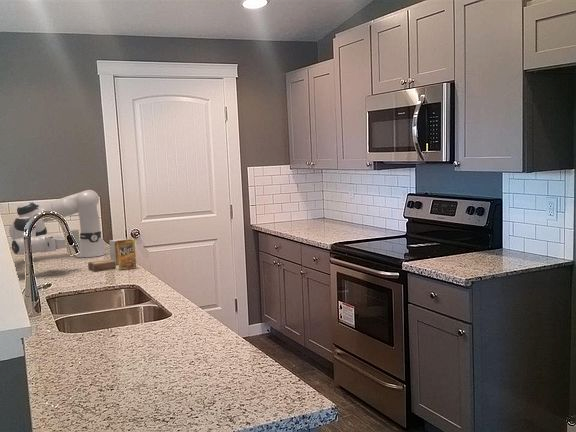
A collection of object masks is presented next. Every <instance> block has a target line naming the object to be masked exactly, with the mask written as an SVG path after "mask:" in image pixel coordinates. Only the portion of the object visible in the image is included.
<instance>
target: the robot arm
mask: <svg viewBox="0 0 576 432" xmlns="http://www.w3.org/2000/svg"><path fill="white" fill-rule="evenodd" d="M99 201H100V196H99V195H98V193H97V192H96V191H94V190H93V189H86V190H82V191H80V192H78V193H73V194H71V195H67V196H64V197H62V198H59V199H55V200H52V201H49V202H46V203H44V204H42V205H39V204H36V203H34V202H32V201H31V202H24V203H22V204H20V205H19V206H18V207H17V208H16V212H17V215H18V217H17V218H15V219H14V221H12V222H11V223H10V225H9V227H8V234H9V236H10V238H11V240H12V241H11V250H12V252H13V254H15V255H17V256H22V255H23V256H24V241H23V233H24V227H25V225H26V223H27V222H28V221H29V219H30V218H31V217H32V216H34V215H35V214H37V213H39V212H42V211H55V212H57V213H59V214H60V215H62V216H63V218H66V217H69V216H73V215H76V214H78V217H79V227H80V230H79V231H80V232H79V241H80V253H79V254H77V255H74V256H75V257H76V258H94V257H100V256H103V255H106V254H109V251H107V250H106V244H105V240H104V239H103V238H102V231H101V225H100V216H99V213H98V206H97V205H98V204H99ZM53 221H55V220H54V219H51V218H44V219H41V220H39V221H38V222H37V223H36V225H35V226H34V227H33V229H32V235H31V242H32V253H33V254H32V255H34V254H37V253H41V254H42V253H50V252H54V251H55V252H56V251H57V250H60V249H65V248H67V247H66V245H65V239H64V237H65V236H62V235H51V234H49V233H48V229H47V227H46V225H45V223H47V222H53ZM47 233H48V234H47ZM75 240H76V241H77V239H76V238H75Z"/></svg>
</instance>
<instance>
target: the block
mask: <svg viewBox="0 0 576 432" xmlns="http://www.w3.org/2000/svg"><path fill="white" fill-rule="evenodd" d="M69 229H70V230H71V232H72V234H73V236H74V238H76V239H77V243H78V245H79V248H80V230H79V228H77V227H76V228H69Z"/></svg>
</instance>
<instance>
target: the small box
mask: <svg viewBox="0 0 576 432" xmlns="http://www.w3.org/2000/svg"><path fill="white" fill-rule="evenodd" d="M122 239H123V238H118V239H111V240H108V241H109V254H110V260H112V261H114V262H115V264H116V265H118V266H119V263H118V250H117V240H122Z"/></svg>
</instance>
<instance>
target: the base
mask: <svg viewBox="0 0 576 432" xmlns="http://www.w3.org/2000/svg"><path fill="white" fill-rule="evenodd" d="M116 267H117V266H116V264H115V262H114V261H112V260H111V259H109V258H105V259H99V260H91V261H89V262H88V263H87V268H88V270H89V271H92V272H95V273H97V272H103V271H108V270H116V269H117V268H116Z"/></svg>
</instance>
